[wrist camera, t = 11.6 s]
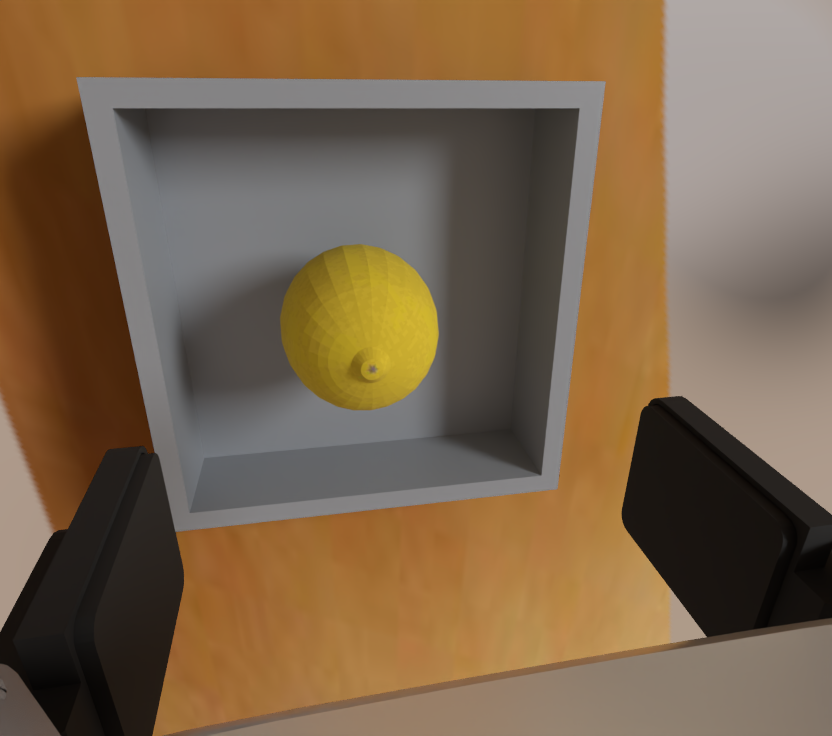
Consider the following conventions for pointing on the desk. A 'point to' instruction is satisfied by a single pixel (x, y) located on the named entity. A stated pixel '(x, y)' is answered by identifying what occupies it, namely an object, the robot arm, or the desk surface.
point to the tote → (329, 228)
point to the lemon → (359, 327)
